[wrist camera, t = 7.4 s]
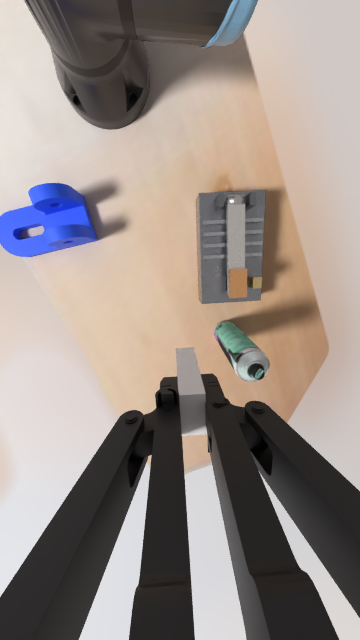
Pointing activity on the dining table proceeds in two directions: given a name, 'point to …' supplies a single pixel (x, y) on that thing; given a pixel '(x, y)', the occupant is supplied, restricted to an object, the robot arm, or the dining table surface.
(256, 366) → the spray can
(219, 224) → the finned block
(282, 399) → the dining table surface
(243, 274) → the bar
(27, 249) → the bracket
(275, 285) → the dining table surface
